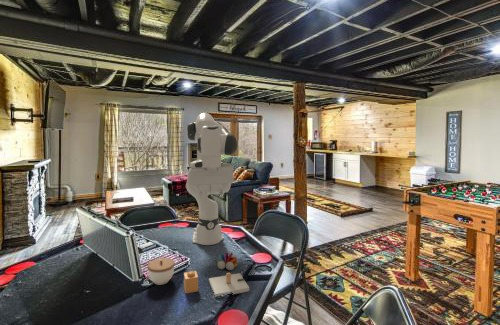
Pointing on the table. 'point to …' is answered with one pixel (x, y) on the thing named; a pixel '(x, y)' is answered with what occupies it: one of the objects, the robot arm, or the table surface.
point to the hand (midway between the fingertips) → (210, 194)
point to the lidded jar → (161, 270)
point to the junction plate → (228, 284)
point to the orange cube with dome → (190, 281)
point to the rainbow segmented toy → (227, 261)
